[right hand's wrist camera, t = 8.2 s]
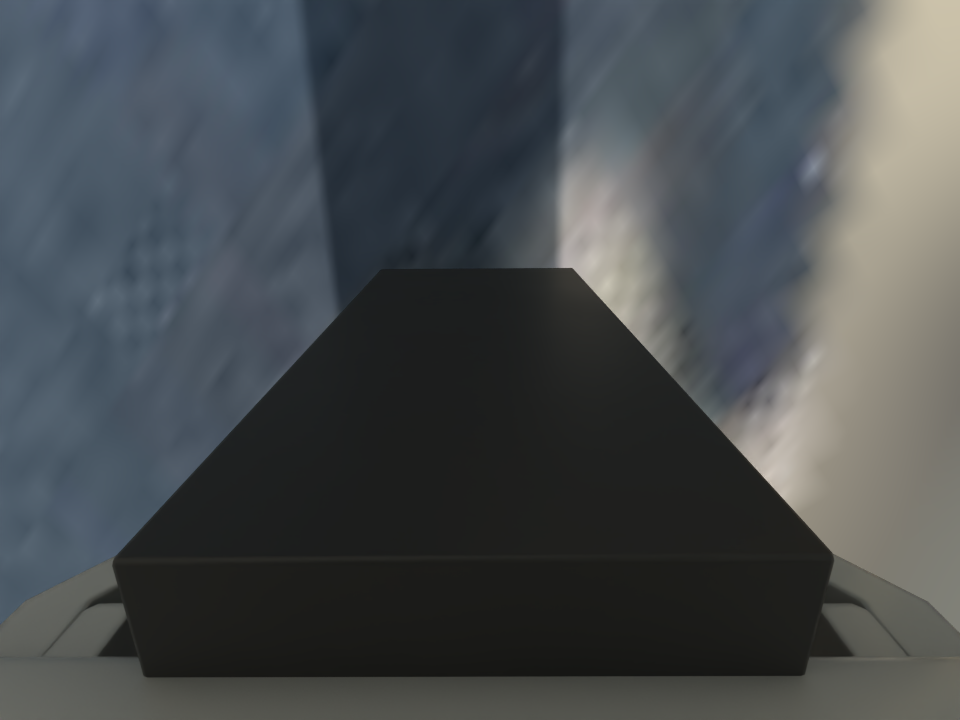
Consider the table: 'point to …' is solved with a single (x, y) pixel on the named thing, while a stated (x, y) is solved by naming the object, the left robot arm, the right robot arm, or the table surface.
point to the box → (474, 508)
